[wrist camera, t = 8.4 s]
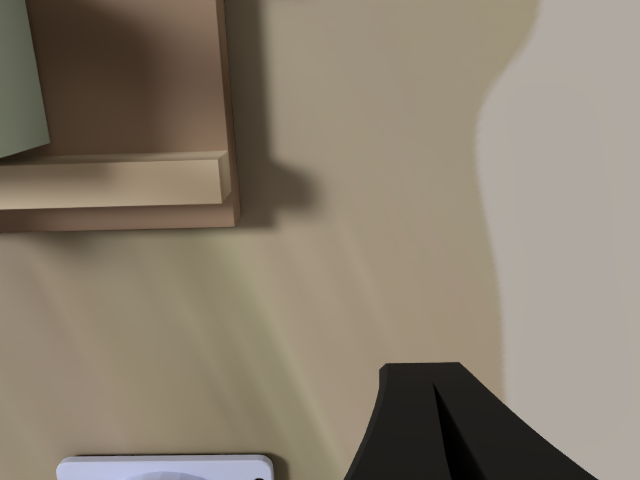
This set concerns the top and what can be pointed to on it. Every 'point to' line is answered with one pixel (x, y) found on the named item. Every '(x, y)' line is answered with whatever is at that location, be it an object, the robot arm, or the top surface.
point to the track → (127, 120)
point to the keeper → (19, 84)
